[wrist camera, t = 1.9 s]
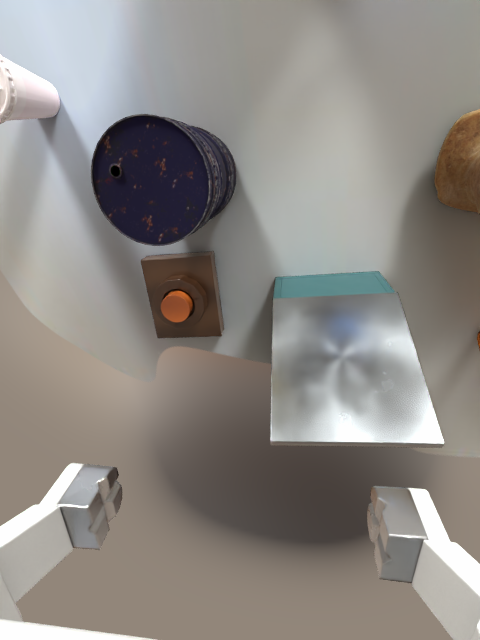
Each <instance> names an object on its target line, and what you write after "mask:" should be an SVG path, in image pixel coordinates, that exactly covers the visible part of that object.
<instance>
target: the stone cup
mask: <svg viewBox="0 0 480 640" xmlns="http://www.w3.org/2000/svg"><path fill="white" fill-rule="evenodd" d="M434 180H435V187H436V189H437V191H438V194H437V195H438V199H439V200H440V201H441V202H442V203H443V204H445V205H447V206H450V207H453V208H457V209H461V210H466V211H472V212H477V213H479V214H480V109H479V110H475V111H472V112H469V113H467V114H464V115H463V116H462V117H461V118H459V119H458V120H457V121H456V122H455V123H454V125H453V126H452V128H451V129H450V131H449V133H448V135H447V136H446V138H445V140H444V142H443V145H442V147H441V150H440V152H439V156H438V160H437V165H436V171H435V178H434Z"/></svg>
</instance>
